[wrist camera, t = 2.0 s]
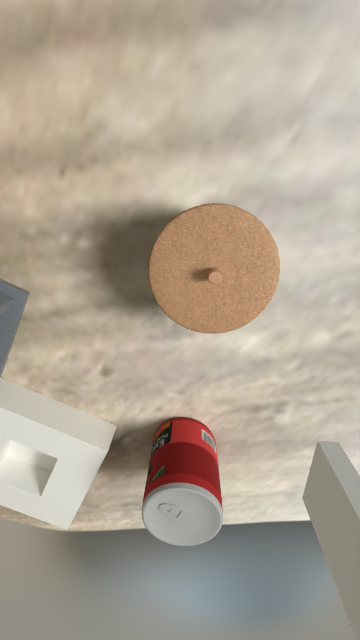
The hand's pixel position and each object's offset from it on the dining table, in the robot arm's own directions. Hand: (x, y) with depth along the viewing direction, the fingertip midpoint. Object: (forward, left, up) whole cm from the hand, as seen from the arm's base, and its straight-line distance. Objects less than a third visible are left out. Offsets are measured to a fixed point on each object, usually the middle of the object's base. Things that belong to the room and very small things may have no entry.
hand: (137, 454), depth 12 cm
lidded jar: (-1, +5, -25) cm, 25 cm away
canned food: (+17, -10, -25) cm, 32 cm away
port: (+7, -26, -24) cm, 36 cm away
